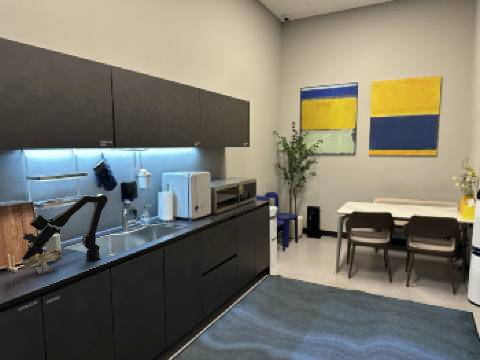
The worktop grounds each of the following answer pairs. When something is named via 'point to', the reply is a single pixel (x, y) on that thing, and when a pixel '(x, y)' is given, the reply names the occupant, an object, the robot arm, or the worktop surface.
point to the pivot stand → (44, 268)
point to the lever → (43, 258)
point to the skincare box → (53, 243)
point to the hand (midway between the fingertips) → (22, 259)
